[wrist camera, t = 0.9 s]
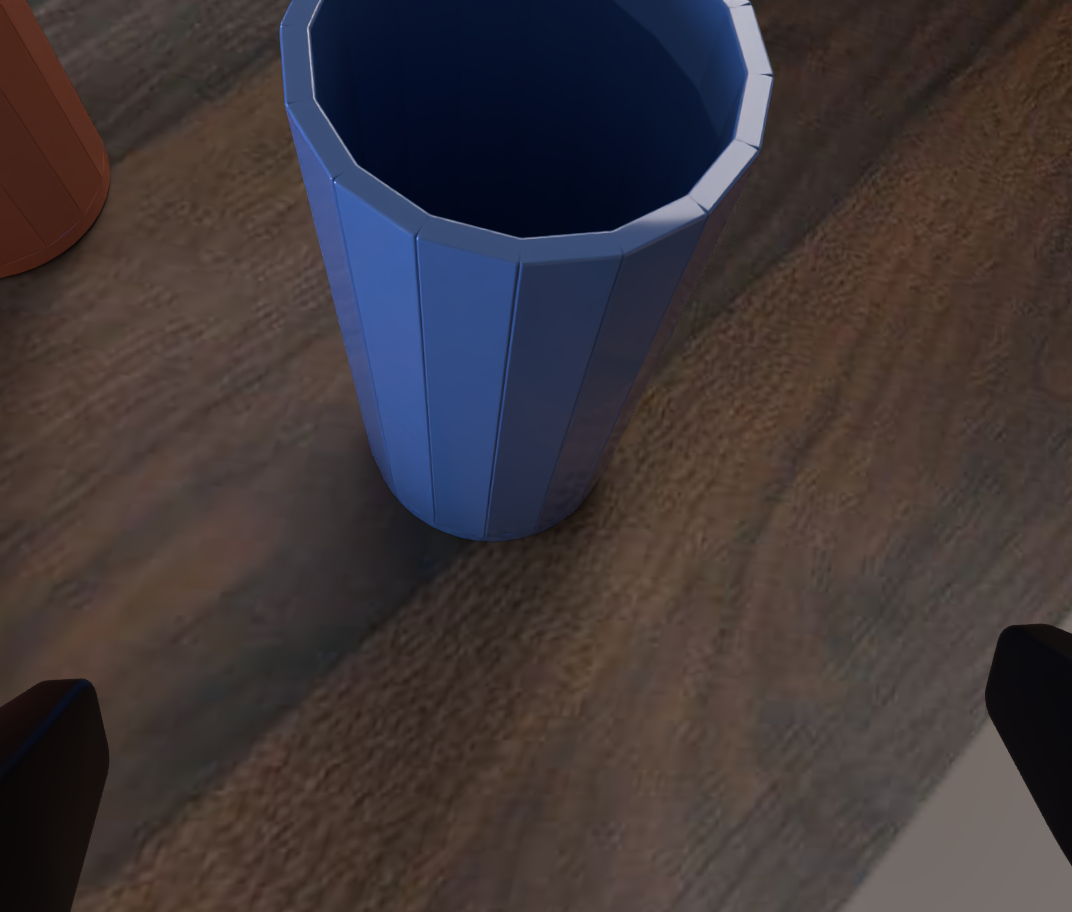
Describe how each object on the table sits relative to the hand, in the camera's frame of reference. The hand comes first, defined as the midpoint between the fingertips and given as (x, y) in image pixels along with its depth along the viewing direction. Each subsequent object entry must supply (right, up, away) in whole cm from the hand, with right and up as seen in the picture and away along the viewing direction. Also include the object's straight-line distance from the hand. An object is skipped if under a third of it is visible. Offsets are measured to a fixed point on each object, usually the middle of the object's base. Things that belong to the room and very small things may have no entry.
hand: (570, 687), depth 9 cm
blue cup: (-2, +3, +15) cm, 15 cm away
